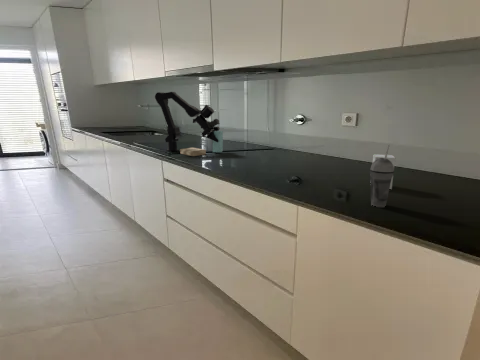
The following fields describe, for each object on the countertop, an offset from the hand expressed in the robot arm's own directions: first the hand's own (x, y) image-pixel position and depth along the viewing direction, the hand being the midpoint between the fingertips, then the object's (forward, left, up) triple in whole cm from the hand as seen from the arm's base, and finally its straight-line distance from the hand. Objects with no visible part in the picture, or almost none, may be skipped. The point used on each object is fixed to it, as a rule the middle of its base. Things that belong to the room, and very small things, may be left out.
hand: (219, 141), depth 213 cm
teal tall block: (-1, -1, -7) cm, 7 cm away
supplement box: (+110, -9, -8) cm, 110 cm away
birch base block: (-9, -15, -8) cm, 19 cm away
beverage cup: (+120, -33, -8) cm, 124 cm away
